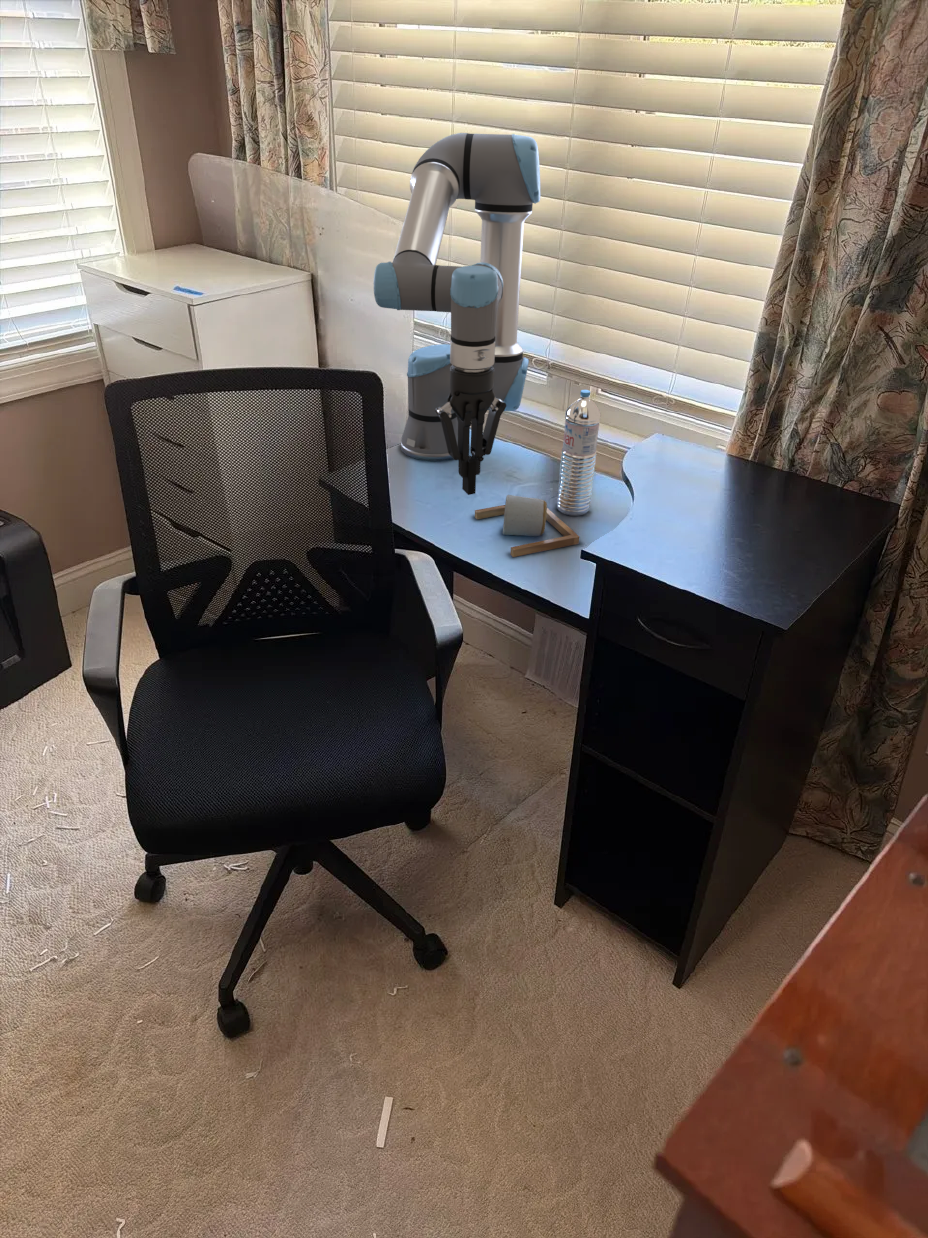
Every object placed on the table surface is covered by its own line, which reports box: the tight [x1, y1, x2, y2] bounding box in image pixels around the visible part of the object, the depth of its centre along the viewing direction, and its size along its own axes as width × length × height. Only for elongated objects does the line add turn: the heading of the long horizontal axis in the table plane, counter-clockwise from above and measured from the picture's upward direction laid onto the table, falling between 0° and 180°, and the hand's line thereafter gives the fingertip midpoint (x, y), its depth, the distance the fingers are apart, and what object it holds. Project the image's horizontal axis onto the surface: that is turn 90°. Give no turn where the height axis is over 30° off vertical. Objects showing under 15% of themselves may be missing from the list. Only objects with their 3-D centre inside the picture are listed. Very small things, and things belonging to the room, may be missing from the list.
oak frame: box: [474, 504, 580, 558], centre depth 167 cm, size 17×14×2 cm
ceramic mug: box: [502, 494, 548, 537], centre depth 166 cm, size 11×8×8 cm
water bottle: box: [556, 389, 602, 517], centre depth 169 cm, size 7×7×25 cm
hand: (468, 491), depth 158 cm, fingers closed
